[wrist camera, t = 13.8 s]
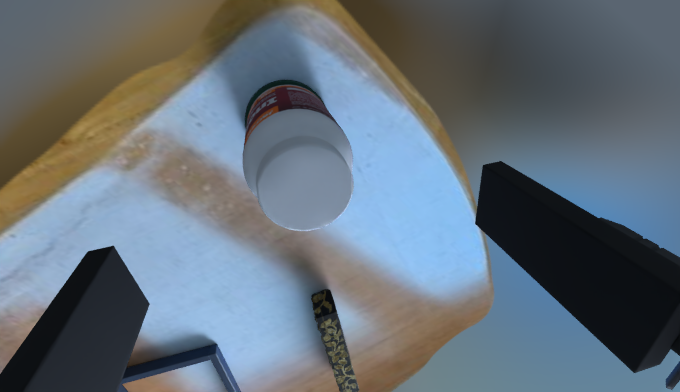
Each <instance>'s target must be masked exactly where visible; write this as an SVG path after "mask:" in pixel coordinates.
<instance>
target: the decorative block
mask: <svg viewBox="0 0 680 392" xmlns="http://www.w3.org/2000/svg"><path fill="white" fill-rule="evenodd" d="M311 300H312V302H313V310H314V314H315V320H316V322H317V323H318V324H317V325H318V330H319V331H320V333H321V338H322V341H323V344H324V345H325V347H326V352H327V354H328V358H329V362H330V364H331V366H332V369H333V372H334V376H335V378H336V382H337V385H338V386H339V391H340V392H358V391H359V387H358V384H357V380H356V377H355V374H354V370H353V367H352V363H351V360H350V356H349V353H348V349H347V346H346V342H345V339H344V335H343V332H342V328H341V325H340V321H339V318H338V314H337V310H336V307H335V304H334V300H333V297H332V294H331V291H330V290H324V291H321V292H319V293H317V294H313V295H312V298H311Z"/></svg>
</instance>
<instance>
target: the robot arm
mask: <svg viewBox="0 0 680 392" xmlns="http://www.w3.org/2000/svg"><path fill="white" fill-rule="evenodd" d="M475 224H476V225H477V226H478V227H479V228H480V229H481V230H482V231H483V232H485V233H486V234H487V235H488V236H489V237H490V238H491V239H492V240H493V241H494V242H495V243H497V245H498V246H499V247H501V248H502V249H503V250H504V251H505V252H506V253H507V254H508V255H509V256H510V257H511V258H512V259H514V261H515V262H517V263H518V264H519V265H520V266H521V267H522V268H523V269H524V270H525V271H526V272H527V273H528V274H529V275H531V277H533V278H534V279H535V280H536V281H537V282H538V283H539V284H540V285H541V286H542V287H543V288H544V289H545V290H546V291H547V292H549V293H550V294H551V295H552V296H553V297H554V298H555V299H556V300H557V301H558V302H559V303H560V304H561V305H562V306H564V308H565V309H567V310H568V311H569V312H570V313H571V314H572V315H573V316H574V317H575V318H576V319H577V320H578V321H579V322H580V323H581V324H583V325H584V326H585V327H586V328H587V329H588V330H589V331H590V332H591V333H592V334H593V335H594V336H595V337H596V338H597V339H599V340H600V341H601V342H602V343H603V344H604V345H605V346H606V347H607V348H608V349H609V350H610V351H611V352H612V353H613V354H615V355H616V356H617V357H618V358H619V359H620V360H621V361H622V362H623V363H624V364H625V365H626V366H627V367H628V368H629V369H630V370H632V371H633V372H634V373H636V372H639V371H642V370H645V369H648V368H651V367H654V366H656V365H659V364H660V363H661V362H662V361H663V359H664V358H665V356H666V355H667V354H668V352H669V350H670V349H672V350H673V351H674V352H676V353H677V354H678V355H679V356H680V257H678V256H676V255H674V254H673V253H671V252H669V251H667V250H666V249H664V248H659V246H658V245H657V244H655V243H653V242H652V241H649V240H648V239H643V236H641V235H639V234H637V233H636V232H634V231H632V230H630V229H629V228H627V227H625V226H623V225H621V224H618V223H615V222H612V221H609V220H606V219H604V218H597V217H595V216H594V215H592V214H590V213H589V212H587V211H585V210H584V209H582V208H580V207H578V206H576V205H575V204H573V203H572V202H570V201H568V200H566V199H565V198H563V197H561V196H560V195H558V194H556V193H554V192H553V191H551V190H550V189H548V188H546V187H544V186H543V185H541V184H539V183H537V182H536V181H534V180H532V179H531V178H529V177H527V176H525V175H524V174H522V173H520V172H519V171H517V170H515V169H514V168H512V167H510V166H509V165H507V164H505V163H503V162H502V161H499V162H495V163H491V164H486V165H483V169H482V176H481V184H480V191H479V199H478V206H477V214H476V221H475ZM148 307H149V302H148V300H147V299H146V297H145V296H144V294H143V292H142V291H141V289H140V288H139V286H138V284H137V283H136V281H135V280H134V278H133V276H132V275H131V273H130V272H129V270H128V268H127V267H126V265H125V263H124V262H123V260H122V259H121V257H120V255H119V254H118V252H117V251H116V249H115V247H114V246H111V247H106V248H101V249H97V250H92V251H88V252H87V253H86V255H85V256H84V258H83V259H82V260H81V262H80V263H79V265H78V266H77V267H76V269H75V270H74V272H73V273H72V274H71V276H70V277H69V279H68V280H67V281H66V283H65V284H64V286H63V287H62V288H61V290H60V291H59V293H58V294H57V295H56V297H55V298H54V300H53V301H52V302H51V304H50V305H49V307H48V308H47V309H46V311H45V312H44V314H43V315H42V316H41V318H40V319H39V321H38V322H37V323H36V325H35V326H34V328H33V329H32V330H31V332H30V333H29V335H28V336H27V337H26V339H25V340H24V342H23V343H22V344H21V346H20V347H19V349H18V350H17V351H16V353H15V354H14V356H13V357H12V358H11V360H10V361H9V363H8V364H7V365H6V367H5V368H4V370H3V371H2V372H1V374H0V392H117V391H118V389H119V386H120V383H121V381H122V378H123V375H124V372H125V370H126V367H127V364H128V361H129V359H130V356H131V353H132V351H133V348H134V345H135V342H136V340H137V337H138V334H139V332H140V329H141V326H142V323H143V321H144V318H145V315H146V312H147V310H148ZM679 380H680V362H679V363H678V364H677V366H676V367H675V368H674V370H673V371H672V372H671V374H670V375H669V376H668V378H667V379H666V388H668V389H671V390H672V389H673V388H674V387H675V385H676V384H677V383H678V382H679Z"/></svg>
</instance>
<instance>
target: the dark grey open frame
mask: <svg viewBox="0 0 680 392" xmlns="http://www.w3.org/2000/svg"><path fill="white" fill-rule="evenodd" d="M210 359H211V361H212V363H213V365H214V366H215V368H216V370H217V372H218V374H219V376H220V378H221V379H222V381H223V383H224V385H225V387H226V389H227V391H228V392H241V391H240V389H239V387H238V385H237V383H236V381H235V379H234V377H233V375H232V373H231V371H230V369H229V367H228V365H227V363H226V361H225V359H224V357H223V355H222V353H221V351H220V349H219V347H218V345H217V344H215V345H211V346H207V347H203V348H199V349H195V350H192V351H188V352H184V353H180V354H177V355H173V356H169V357H166V358H162V359H158V360H154V361H151V362H147V363H143V364H139V365H136V366H132V367H128V368H126V370H125V372H124V375H123V378H122V381H121V383H120V386H119V389H118V391H117V392H128V391H127V390H126V389H125V387H124V386H123V385H122V384H124V383H127V382H131V381H135V380H138V379H142V378H146V377H149V376H153V375H157V374H160V373H164V372H167V371H171V370H175V369H178V368H182V367H186V366H189V365H193V364H197V363H200V362H204V361H208V360H210Z"/></svg>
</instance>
